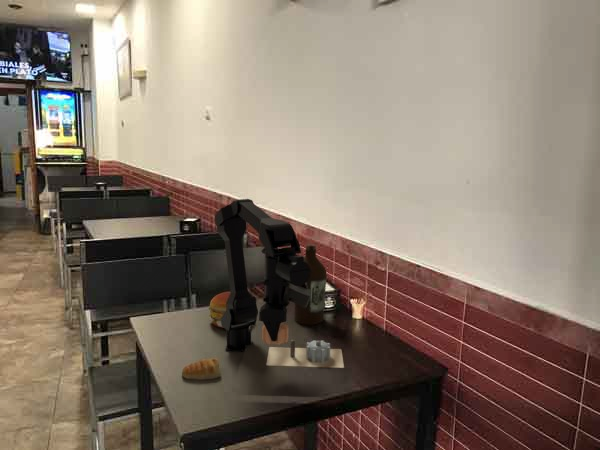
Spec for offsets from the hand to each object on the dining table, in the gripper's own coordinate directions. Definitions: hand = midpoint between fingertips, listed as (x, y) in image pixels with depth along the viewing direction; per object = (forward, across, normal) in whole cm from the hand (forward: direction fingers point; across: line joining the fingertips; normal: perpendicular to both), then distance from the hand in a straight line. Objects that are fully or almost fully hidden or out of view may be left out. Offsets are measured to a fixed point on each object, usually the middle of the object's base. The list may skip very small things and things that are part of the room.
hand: (275, 335), depth 123 cm
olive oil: (+11, +39, -8) cm, 41 cm away
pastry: (+11, -1, +18) cm, 21 cm away
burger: (+12, +33, +17) cm, 39 cm away
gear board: (+11, +9, -8) cm, 16 cm away
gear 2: (+10, +9, -11) cm, 17 cm away
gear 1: (+1, 0, 0) cm, 1 cm away
